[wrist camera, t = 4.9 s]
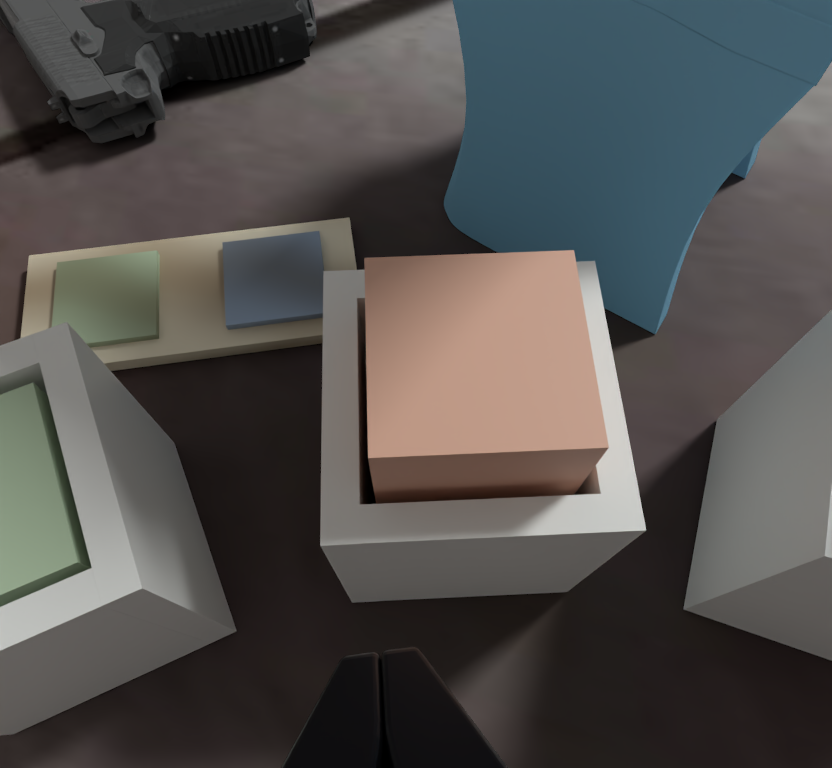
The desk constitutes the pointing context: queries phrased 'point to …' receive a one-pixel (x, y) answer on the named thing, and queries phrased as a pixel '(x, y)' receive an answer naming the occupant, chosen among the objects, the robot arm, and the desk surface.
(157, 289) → the board
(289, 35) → the handgun
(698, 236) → the desk surface
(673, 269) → the vase
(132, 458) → the keypad
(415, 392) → the terracotta key
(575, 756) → the desk surface
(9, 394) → the green key
